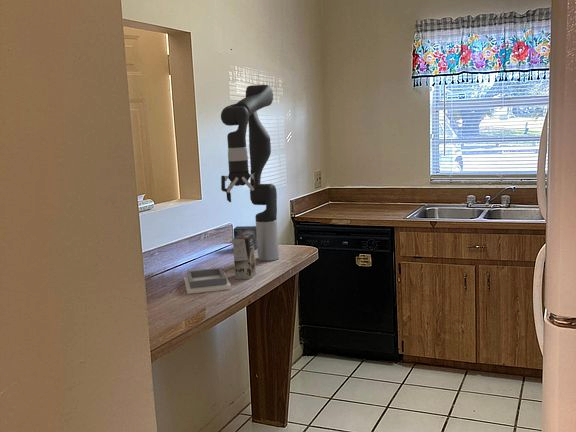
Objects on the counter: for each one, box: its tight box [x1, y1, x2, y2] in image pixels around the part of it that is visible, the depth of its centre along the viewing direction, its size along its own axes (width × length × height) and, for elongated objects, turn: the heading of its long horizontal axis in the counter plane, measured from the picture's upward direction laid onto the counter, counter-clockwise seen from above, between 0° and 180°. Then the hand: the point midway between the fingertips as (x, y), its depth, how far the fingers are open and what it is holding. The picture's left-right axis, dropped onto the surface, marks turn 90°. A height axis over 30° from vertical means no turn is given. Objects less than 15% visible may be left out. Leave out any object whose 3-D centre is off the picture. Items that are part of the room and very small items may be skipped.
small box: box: [232, 225, 258, 251], centre depth 288 cm, size 11×6×10 cm, turn 80°
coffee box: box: [232, 234, 257, 280], centre depth 237 cm, size 9×6×16 cm
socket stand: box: [183, 267, 232, 295], centre depth 228 cm, size 19×16×4 cm
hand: (240, 201), depth 233 cm, fingers open, 8 cm apart
